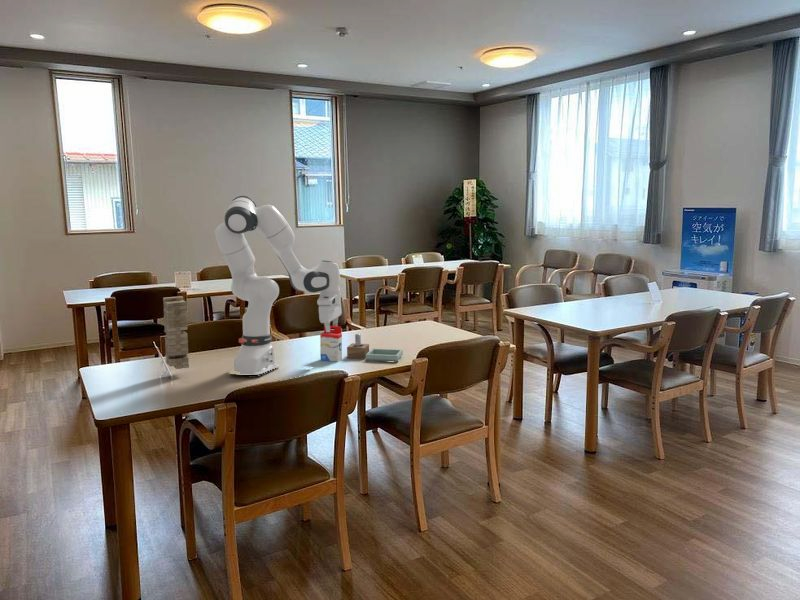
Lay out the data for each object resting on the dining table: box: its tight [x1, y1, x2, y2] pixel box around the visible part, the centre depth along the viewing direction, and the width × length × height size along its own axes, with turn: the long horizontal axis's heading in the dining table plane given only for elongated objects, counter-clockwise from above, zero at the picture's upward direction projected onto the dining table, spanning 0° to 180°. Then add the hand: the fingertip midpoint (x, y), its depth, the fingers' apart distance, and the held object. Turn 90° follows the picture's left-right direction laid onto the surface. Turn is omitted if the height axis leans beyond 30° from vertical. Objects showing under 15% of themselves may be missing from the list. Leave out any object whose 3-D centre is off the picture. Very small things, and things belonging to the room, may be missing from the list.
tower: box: [162, 295, 190, 370], centre depth 250 cm, size 8×8×29 cm
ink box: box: [319, 325, 343, 362], centre depth 263 cm, size 8×5×15 cm, turn 76°
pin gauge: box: [354, 333, 362, 347], centre depth 269 cm, size 2×2×10 cm
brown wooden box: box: [346, 343, 370, 360], centre depth 269 cm, size 8×8×5 cm
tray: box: [365, 348, 404, 363], centre depth 265 cm, size 12×14×3 cm
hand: (331, 329), depth 262 cm, fingers open, 8 cm apart
